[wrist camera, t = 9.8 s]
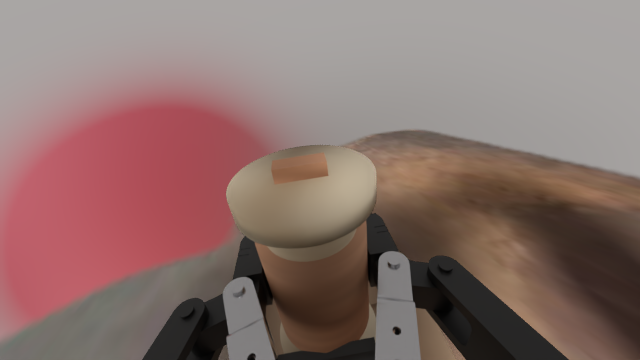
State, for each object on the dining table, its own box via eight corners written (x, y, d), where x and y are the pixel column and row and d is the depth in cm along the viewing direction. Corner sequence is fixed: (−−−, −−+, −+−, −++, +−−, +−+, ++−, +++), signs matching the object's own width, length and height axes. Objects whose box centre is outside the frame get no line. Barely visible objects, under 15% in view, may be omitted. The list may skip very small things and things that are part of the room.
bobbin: (362, 285, 18) (355, 125, 12) (391, 378, 13) (402, 188, 7) (283, 299, 18) (235, 144, 12) (282, 399, 13) (200, 221, 7)
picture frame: (398, 271, 28) (400, 250, 26) (485, 456, 16) (498, 440, 14) (252, 298, 27) (244, 279, 25) (226, 511, 15) (207, 501, 13)
